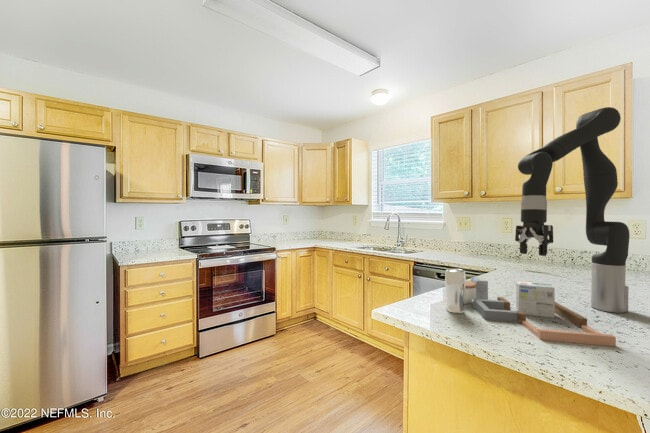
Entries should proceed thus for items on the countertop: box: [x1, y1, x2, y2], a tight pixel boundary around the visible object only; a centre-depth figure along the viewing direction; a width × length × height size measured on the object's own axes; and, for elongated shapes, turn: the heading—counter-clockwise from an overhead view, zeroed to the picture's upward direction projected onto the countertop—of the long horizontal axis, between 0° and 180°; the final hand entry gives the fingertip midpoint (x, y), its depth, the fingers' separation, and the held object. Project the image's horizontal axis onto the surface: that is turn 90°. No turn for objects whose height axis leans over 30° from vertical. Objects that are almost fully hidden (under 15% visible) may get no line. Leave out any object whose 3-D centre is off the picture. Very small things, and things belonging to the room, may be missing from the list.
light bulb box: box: [515, 280, 556, 319], centre depth 105 cm, size 11×7×11 cm, turn 65°
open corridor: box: [496, 296, 588, 329], centre depth 103 cm, size 19×20×3 cm
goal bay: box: [521, 320, 617, 347], centre depth 86 cm, size 18×12×2 cm, turn 77°
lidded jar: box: [463, 280, 476, 305], centre depth 119 cm, size 11×11×9 cm
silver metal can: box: [444, 268, 467, 314], centre depth 107 cm, size 7×7×15 cm
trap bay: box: [472, 298, 518, 323], centre depth 104 cm, size 10×14×3 cm
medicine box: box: [470, 276, 489, 300], centre depth 122 cm, size 8×4×9 cm, turn 168°
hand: (532, 254), depth 103 cm, fingers open, 8 cm apart
